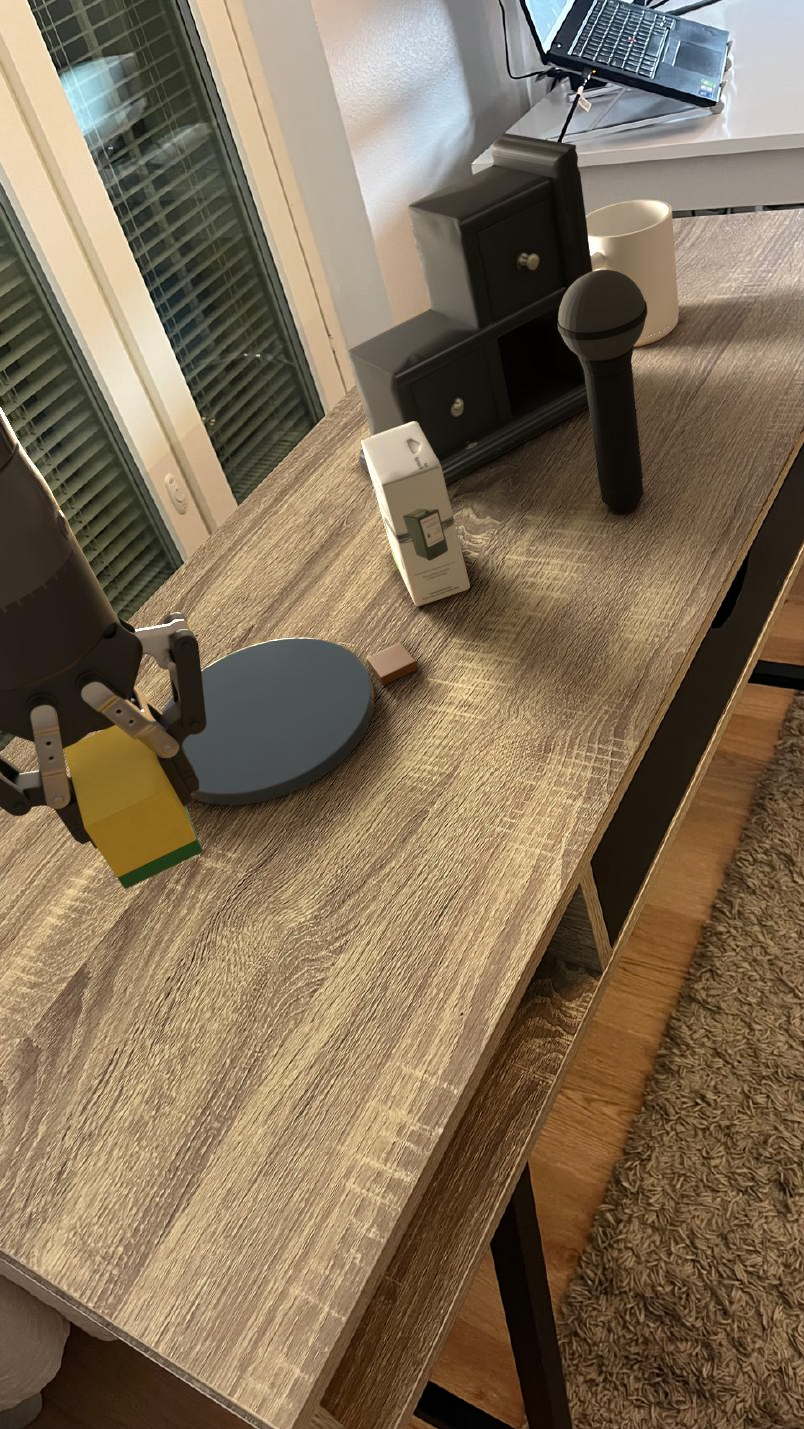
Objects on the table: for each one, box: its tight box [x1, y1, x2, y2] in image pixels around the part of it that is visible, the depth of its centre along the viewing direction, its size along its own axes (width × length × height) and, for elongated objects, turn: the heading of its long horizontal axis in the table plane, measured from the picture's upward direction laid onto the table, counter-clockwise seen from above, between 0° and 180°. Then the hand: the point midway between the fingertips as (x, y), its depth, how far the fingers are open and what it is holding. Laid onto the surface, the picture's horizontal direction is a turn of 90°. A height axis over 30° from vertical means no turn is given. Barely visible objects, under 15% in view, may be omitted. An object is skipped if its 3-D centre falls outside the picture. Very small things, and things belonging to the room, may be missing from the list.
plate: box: [161, 637, 376, 806], centre depth 81 cm, size 17×17×1 cm
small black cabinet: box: [346, 132, 593, 486], centre depth 98 cm, size 23×11×24 cm, turn 122°
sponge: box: [63, 725, 204, 890], centre depth 58 cm, size 4×7×5 cm, turn 23°
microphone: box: [557, 270, 648, 516], centre depth 84 cm, size 7×7×20 cm
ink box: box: [360, 421, 471, 607], centre depth 87 cm, size 9×5×12 cm, turn 14°
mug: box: [585, 198, 680, 348], centre depth 110 cm, size 10×12×12 cm
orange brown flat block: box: [366, 641, 419, 686], centre depth 82 cm, size 3×3×1 cm
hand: (141, 815), depth 59 cm, fingers closed on sponge, 4 cm apart
